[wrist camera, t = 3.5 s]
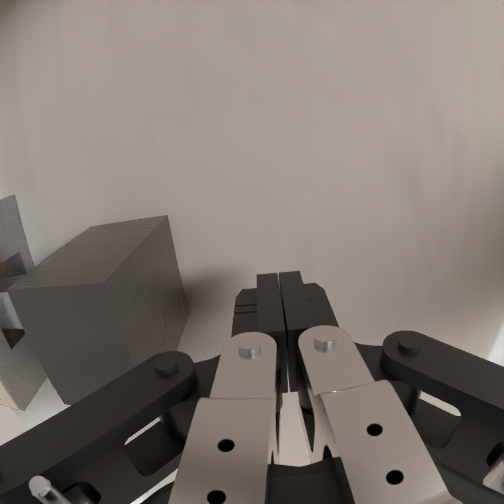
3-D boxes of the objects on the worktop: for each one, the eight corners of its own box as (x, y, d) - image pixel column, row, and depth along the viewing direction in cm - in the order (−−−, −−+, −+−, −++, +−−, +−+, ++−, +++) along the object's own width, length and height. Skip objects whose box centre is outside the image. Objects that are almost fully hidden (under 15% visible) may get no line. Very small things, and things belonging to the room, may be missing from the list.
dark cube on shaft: (167, 215, 14) (86, 302, 7) (188, 313, 15) (149, 436, 8) (-4, 244, 14) (-90, 303, 7) (23, 317, 16) (-43, 391, 9)
